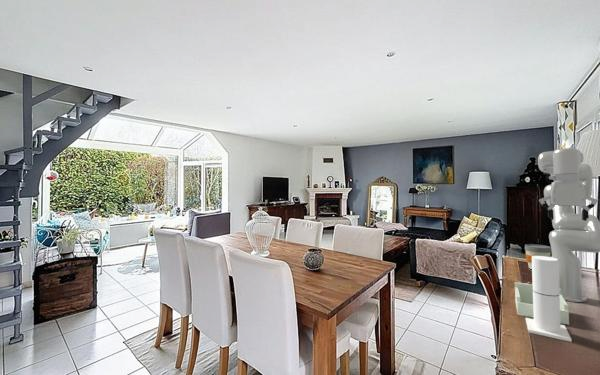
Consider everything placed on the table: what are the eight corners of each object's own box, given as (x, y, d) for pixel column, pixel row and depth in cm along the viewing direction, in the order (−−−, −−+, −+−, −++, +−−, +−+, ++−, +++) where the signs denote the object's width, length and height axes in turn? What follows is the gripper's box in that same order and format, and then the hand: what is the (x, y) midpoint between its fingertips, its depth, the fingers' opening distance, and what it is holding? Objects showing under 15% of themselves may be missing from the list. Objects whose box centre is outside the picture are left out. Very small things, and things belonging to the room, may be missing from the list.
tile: (525, 320, 104) (525, 317, 104) (564, 328, 98) (564, 325, 98) (528, 332, 96) (528, 329, 96) (571, 342, 89) (571, 339, 89)
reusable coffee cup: (545, 274, 159) (544, 248, 159) (521, 268, 170) (520, 245, 171) (556, 271, 164) (555, 246, 165) (531, 266, 176) (530, 243, 176)
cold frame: (515, 302, 121) (514, 282, 121) (561, 310, 112) (560, 288, 112) (517, 314, 109) (516, 292, 109) (569, 325, 100) (568, 300, 100)
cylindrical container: (535, 328, 96) (533, 259, 96) (532, 320, 102) (530, 254, 102) (562, 334, 92) (560, 261, 92) (558, 325, 98) (555, 257, 98)
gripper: (539, 179, 112) (540, 219, 112) (599, 177, 102) (601, 221, 102) (537, 179, 119) (538, 218, 118) (593, 177, 108) (595, 219, 108)
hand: (567, 219), depth 110 cm, fingers open, 9 cm apart
